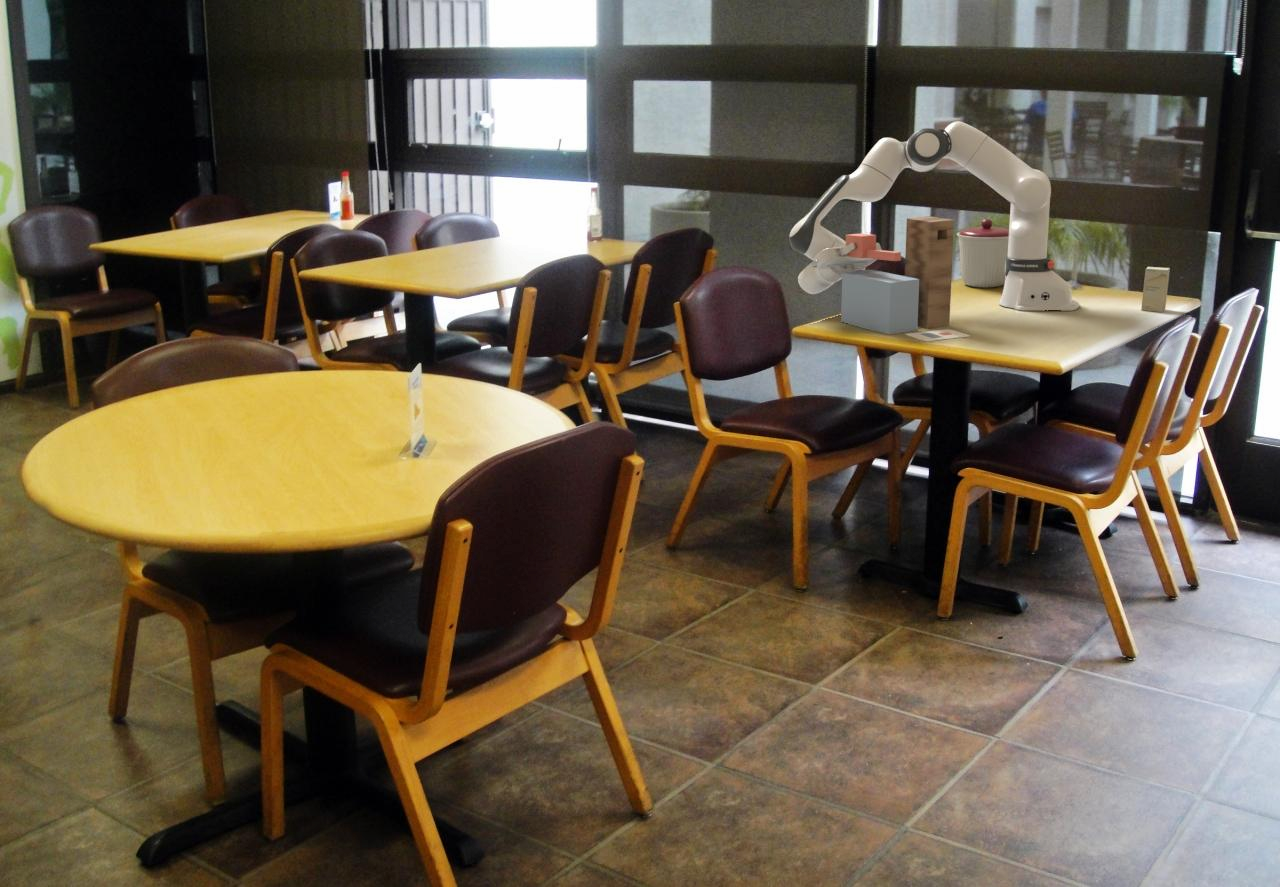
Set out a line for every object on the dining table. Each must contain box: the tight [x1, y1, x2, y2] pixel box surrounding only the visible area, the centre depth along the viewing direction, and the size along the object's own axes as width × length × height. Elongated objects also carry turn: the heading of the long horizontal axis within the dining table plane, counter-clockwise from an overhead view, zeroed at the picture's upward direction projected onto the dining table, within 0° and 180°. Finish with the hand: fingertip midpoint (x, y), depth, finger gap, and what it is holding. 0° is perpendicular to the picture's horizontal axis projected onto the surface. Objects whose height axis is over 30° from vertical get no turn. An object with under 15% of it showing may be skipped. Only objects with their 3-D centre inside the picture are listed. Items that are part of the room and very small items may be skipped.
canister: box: [956, 218, 1009, 288], centre depth 436 cm, size 18×18×21 cm
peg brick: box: [845, 233, 902, 262], centre depth 376 cm, size 19×5×6 cm, turn 30°
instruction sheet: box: [904, 328, 971, 342], centre depth 367 cm, size 10×14×1 cm
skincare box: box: [1140, 266, 1171, 313], centre depth 393 cm, size 6×4×12 cm
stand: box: [904, 215, 955, 329], centre depth 377 cm, size 10×8×29 cm
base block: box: [840, 269, 919, 335], centre depth 378 cm, size 20×10×14 cm, turn 30°
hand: (864, 244), depth 380 cm, fingers closed on peg brick, 5 cm apart
